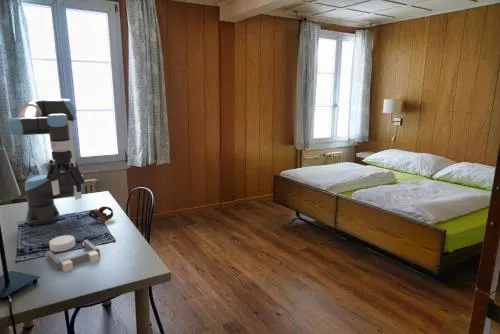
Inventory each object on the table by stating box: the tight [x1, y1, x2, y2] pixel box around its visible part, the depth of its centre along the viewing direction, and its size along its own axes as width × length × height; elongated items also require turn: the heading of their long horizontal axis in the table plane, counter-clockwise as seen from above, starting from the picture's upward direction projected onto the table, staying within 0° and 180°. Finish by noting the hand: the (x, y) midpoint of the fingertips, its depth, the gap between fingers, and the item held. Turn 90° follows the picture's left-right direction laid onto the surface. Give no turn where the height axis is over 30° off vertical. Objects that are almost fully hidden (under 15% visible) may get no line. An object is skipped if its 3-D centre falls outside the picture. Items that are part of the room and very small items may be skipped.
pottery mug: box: [88, 205, 114, 224], centre depth 177 cm, size 12×10×8 cm
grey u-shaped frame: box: [45, 239, 101, 273], centre depth 138 cm, size 18×16×3 cm
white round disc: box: [48, 234, 76, 253], centre depth 148 cm, size 10×10×4 cm
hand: (67, 196), depth 150 cm, fingers open, 13 cm apart
